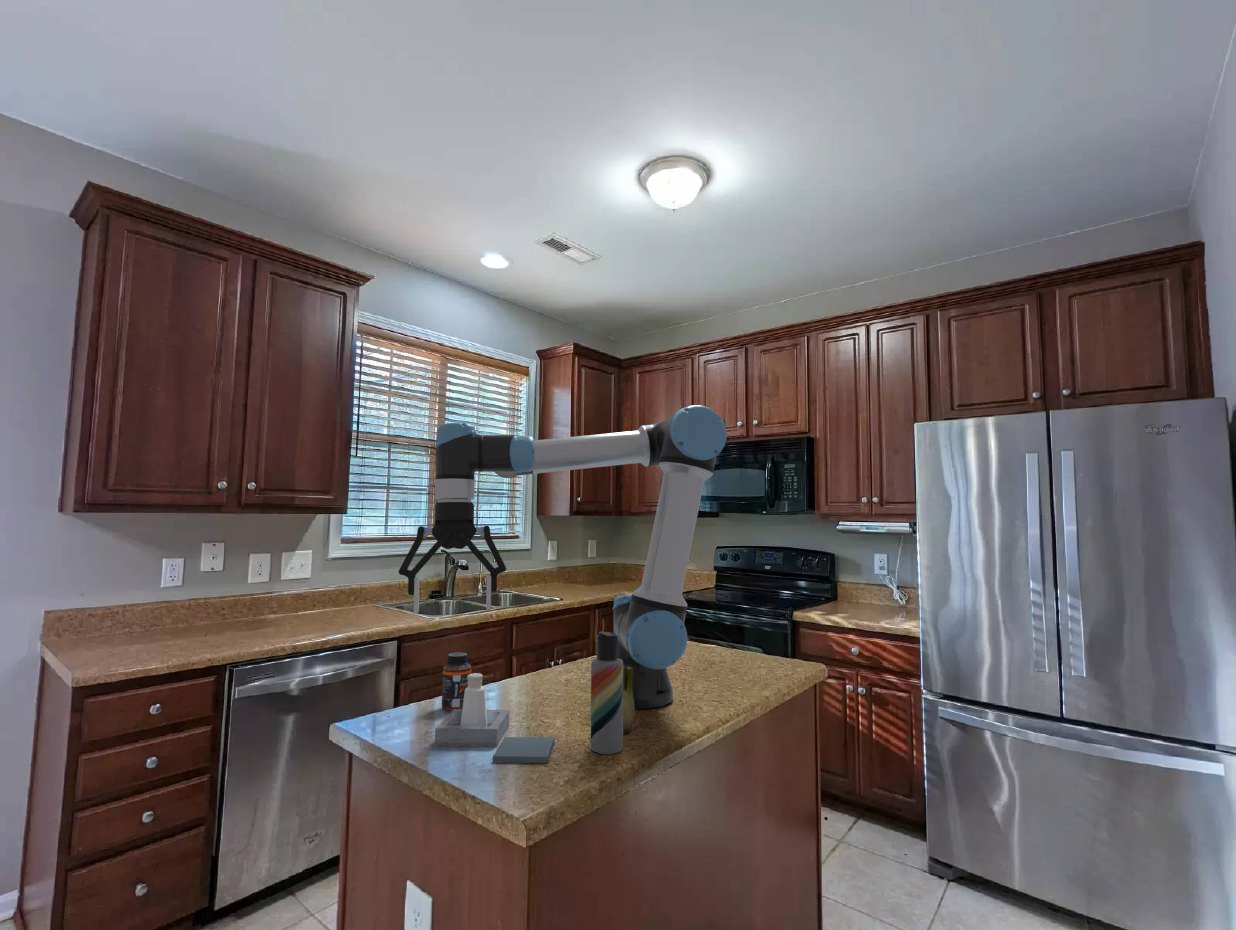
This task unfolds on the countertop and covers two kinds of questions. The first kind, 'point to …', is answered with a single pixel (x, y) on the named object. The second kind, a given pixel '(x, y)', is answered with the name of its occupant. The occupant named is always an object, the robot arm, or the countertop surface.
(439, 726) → the gray square tray
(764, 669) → the countertop surface
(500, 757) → the mat
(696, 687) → the countertop surface
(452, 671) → the supplement bottle
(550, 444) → the robot arm
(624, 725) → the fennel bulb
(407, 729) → the countertop surface
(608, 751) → the lotion bottle
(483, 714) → the salt shaker
